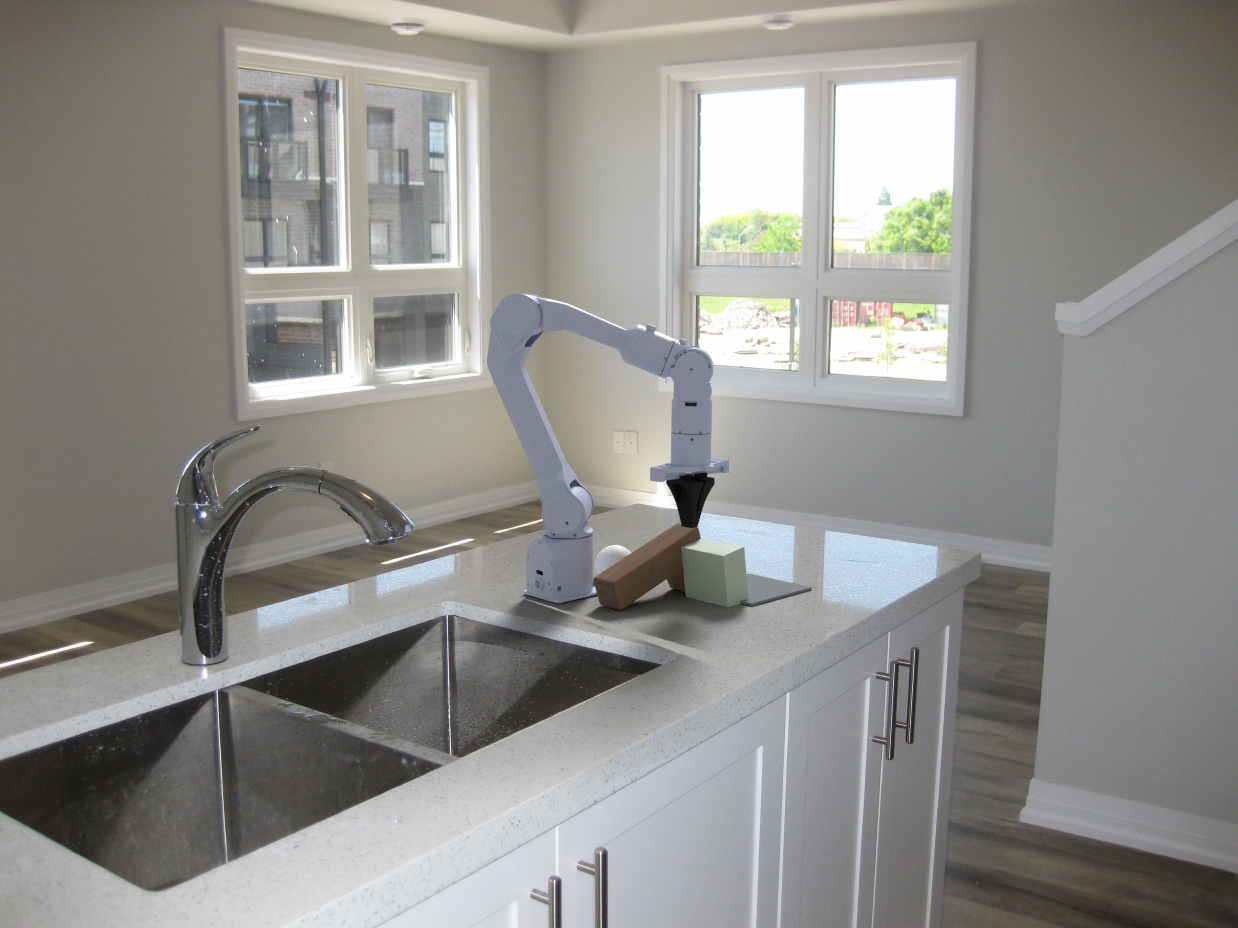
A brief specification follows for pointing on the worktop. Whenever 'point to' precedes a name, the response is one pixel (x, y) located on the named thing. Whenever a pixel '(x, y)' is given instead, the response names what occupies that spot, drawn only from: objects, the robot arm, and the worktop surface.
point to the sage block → (715, 572)
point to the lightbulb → (610, 557)
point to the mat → (769, 589)
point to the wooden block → (646, 569)
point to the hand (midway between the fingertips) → (689, 526)
